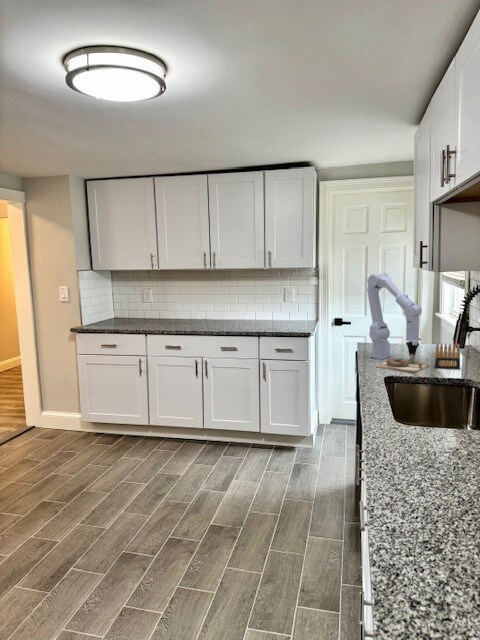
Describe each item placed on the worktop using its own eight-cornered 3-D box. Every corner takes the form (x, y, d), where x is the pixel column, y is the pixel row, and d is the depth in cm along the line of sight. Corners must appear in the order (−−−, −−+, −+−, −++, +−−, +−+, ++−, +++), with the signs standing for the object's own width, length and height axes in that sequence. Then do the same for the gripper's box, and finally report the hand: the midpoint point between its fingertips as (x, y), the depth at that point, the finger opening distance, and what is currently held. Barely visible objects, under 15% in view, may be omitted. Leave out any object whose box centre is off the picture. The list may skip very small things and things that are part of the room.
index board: (392, 360, 225) (392, 355, 225) (429, 366, 211) (429, 360, 211) (375, 367, 214) (375, 361, 214) (413, 373, 201) (413, 367, 200)
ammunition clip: (434, 368, 208) (435, 343, 206) (434, 367, 210) (435, 342, 208) (460, 369, 205) (460, 343, 203) (459, 368, 206) (460, 343, 205)
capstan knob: (394, 367, 208) (394, 358, 207) (382, 362, 217) (382, 354, 217) (420, 364, 211) (420, 356, 210) (408, 360, 220) (408, 351, 220)
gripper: (424, 332, 208) (423, 360, 210) (418, 327, 222) (418, 353, 224) (408, 332, 210) (407, 360, 211) (403, 327, 224) (403, 353, 226)
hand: (412, 356), depth 218 cm, fingers closed
